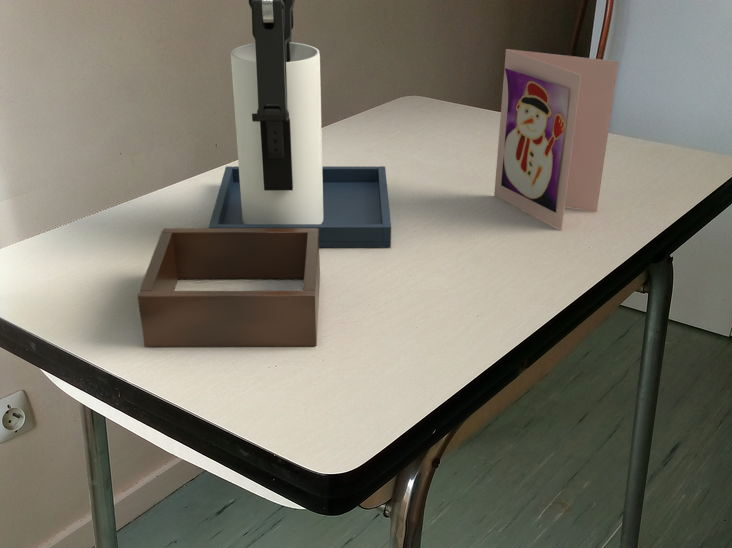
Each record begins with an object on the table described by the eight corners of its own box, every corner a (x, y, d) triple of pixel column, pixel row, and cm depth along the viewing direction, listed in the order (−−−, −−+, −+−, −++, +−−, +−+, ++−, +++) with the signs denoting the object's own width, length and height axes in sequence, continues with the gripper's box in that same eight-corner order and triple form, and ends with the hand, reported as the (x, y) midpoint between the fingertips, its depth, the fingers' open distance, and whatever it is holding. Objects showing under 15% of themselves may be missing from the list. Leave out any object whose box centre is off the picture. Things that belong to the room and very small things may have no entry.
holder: (144, 347, 82) (137, 296, 79) (168, 274, 93) (162, 227, 90) (316, 346, 82) (315, 295, 79) (319, 274, 93) (318, 227, 91)
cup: (274, 241, 98) (265, 67, 88) (226, 217, 103) (213, 50, 93) (339, 221, 102) (337, 53, 93) (290, 198, 107) (283, 37, 98)
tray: (210, 247, 98) (208, 227, 97) (227, 185, 112) (225, 166, 111) (390, 247, 98) (391, 227, 97) (384, 185, 113) (385, 166, 111)
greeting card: (487, 196, 110) (499, 50, 101) (541, 184, 113) (556, 41, 104) (554, 231, 102) (573, 76, 93) (610, 217, 105) (633, 66, 96)
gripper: (308, -73, 78) (316, 212, 91) (314, -106, 95) (320, 139, 108) (210, -74, 78) (233, 212, 91) (234, -106, 94) (250, 139, 108)
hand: (280, 172), depth 100 cm, fingers closed on cup, 8 cm apart
